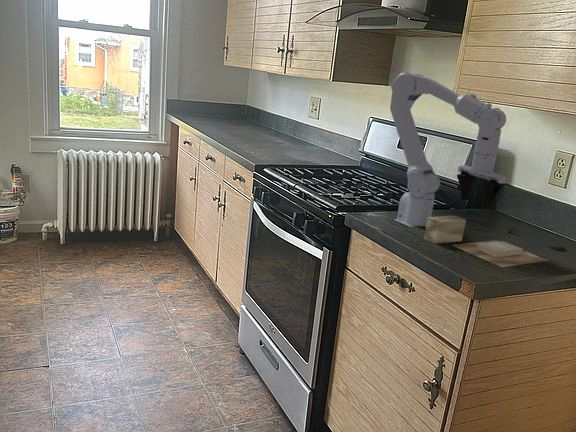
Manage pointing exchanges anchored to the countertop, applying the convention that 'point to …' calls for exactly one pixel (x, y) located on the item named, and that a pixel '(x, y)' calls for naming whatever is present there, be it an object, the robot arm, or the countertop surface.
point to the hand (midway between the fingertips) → (475, 203)
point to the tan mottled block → (444, 229)
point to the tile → (499, 249)
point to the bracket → (557, 248)
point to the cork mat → (500, 261)
